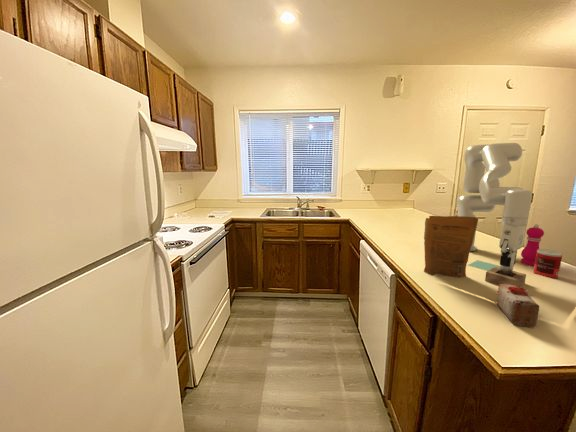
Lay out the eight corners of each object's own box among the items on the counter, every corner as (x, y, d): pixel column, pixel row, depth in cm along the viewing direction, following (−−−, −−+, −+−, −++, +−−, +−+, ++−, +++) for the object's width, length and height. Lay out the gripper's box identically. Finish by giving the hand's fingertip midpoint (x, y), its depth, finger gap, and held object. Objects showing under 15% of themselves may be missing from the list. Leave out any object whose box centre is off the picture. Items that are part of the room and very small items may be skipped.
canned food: (550, 272, 112) (554, 249, 109) (562, 280, 104) (567, 256, 102) (528, 271, 114) (532, 248, 112) (539, 278, 107) (544, 254, 105)
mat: (467, 267, 120) (467, 265, 120) (477, 261, 126) (477, 260, 126) (495, 275, 111) (495, 273, 111) (504, 269, 117) (504, 267, 117)
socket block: (484, 283, 104) (486, 271, 103) (494, 276, 109) (495, 266, 108) (515, 292, 96) (517, 280, 95) (524, 285, 101) (526, 274, 100)
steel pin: (508, 281, 99) (513, 253, 97) (496, 277, 103) (501, 250, 100) (512, 278, 101) (517, 251, 99) (500, 275, 105) (505, 248, 102)
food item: (492, 302, 90) (495, 277, 88) (519, 306, 87) (524, 280, 85) (509, 325, 77) (513, 296, 75) (542, 330, 74) (548, 300, 73)
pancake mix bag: (471, 283, 104) (480, 218, 98) (420, 274, 113) (425, 215, 108) (469, 277, 110) (477, 215, 104) (420, 269, 119) (425, 212, 113)
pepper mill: (543, 267, 118) (551, 226, 114) (526, 266, 119) (533, 226, 115) (532, 261, 125) (539, 222, 121) (516, 260, 126) (522, 222, 122)
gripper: (518, 225, 90) (510, 272, 94) (535, 219, 98) (527, 262, 102) (493, 222, 96) (486, 266, 100) (511, 216, 104) (504, 257, 108)
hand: (507, 264), depth 101 cm, fingers closed on steel pin, 4 cm apart
